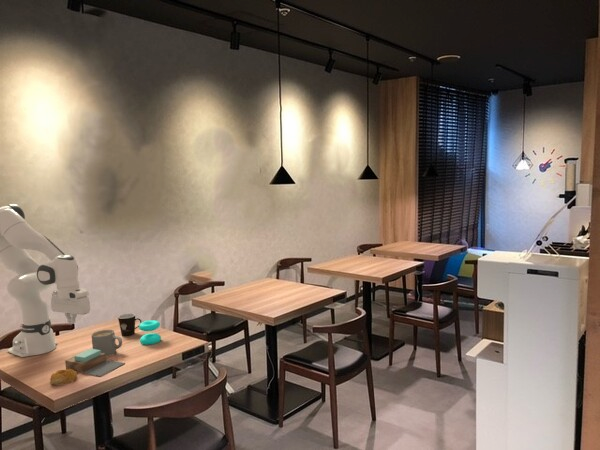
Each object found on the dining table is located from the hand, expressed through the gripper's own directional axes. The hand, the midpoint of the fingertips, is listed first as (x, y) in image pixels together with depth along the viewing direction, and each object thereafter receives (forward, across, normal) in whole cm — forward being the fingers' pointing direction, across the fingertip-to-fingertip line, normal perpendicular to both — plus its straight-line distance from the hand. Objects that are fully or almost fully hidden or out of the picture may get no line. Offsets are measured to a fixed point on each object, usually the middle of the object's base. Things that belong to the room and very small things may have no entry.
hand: (71, 322), depth 210 cm
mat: (+19, +17, 0) cm, 26 cm away
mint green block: (+15, +8, 0) cm, 17 cm away
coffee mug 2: (+19, -4, +38) cm, 43 cm away
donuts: (+19, +14, +33) cm, 41 cm away
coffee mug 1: (+19, +5, +14) cm, 24 cm away
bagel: (+20, +10, -14) cm, 26 cm away
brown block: (+19, +6, 0) cm, 20 cm away
